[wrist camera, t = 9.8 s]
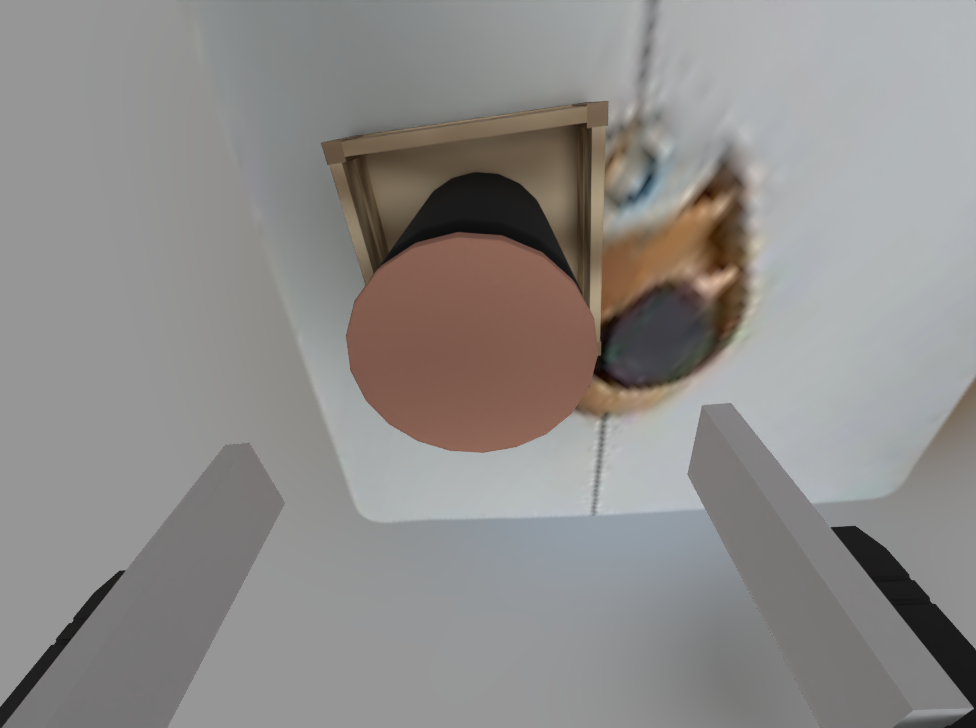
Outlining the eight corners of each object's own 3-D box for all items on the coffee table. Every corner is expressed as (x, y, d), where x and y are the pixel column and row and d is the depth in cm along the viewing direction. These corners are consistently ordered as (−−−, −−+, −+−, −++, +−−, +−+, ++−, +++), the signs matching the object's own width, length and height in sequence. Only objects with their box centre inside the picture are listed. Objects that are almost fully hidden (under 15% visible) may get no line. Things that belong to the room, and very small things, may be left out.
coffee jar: (476, 326, 36) (464, 484, 21) (387, 235, 32) (292, 351, 17) (575, 249, 32) (647, 375, 17) (489, 134, 28) (483, 167, 13)
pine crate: (350, 136, 29) (320, 142, 24) (587, 102, 28) (608, 101, 23) (405, 340, 38) (391, 375, 33) (586, 321, 37) (600, 355, 32)
